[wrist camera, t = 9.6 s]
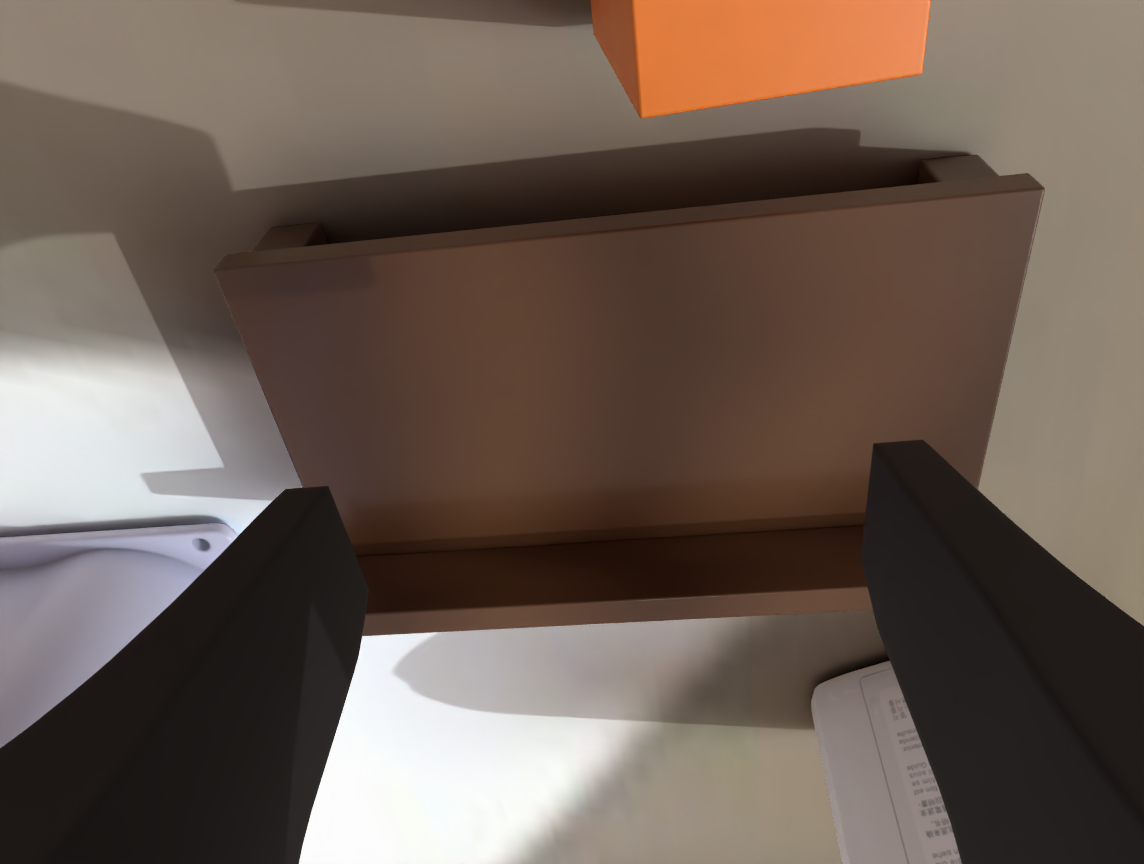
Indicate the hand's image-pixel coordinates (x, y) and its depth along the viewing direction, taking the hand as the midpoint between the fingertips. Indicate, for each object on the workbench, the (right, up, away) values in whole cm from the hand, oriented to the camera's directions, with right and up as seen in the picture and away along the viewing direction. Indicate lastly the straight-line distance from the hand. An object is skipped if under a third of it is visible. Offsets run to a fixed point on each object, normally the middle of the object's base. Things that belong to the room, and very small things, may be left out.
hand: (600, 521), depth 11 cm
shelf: (+1, +3, +10) cm, 10 cm away
